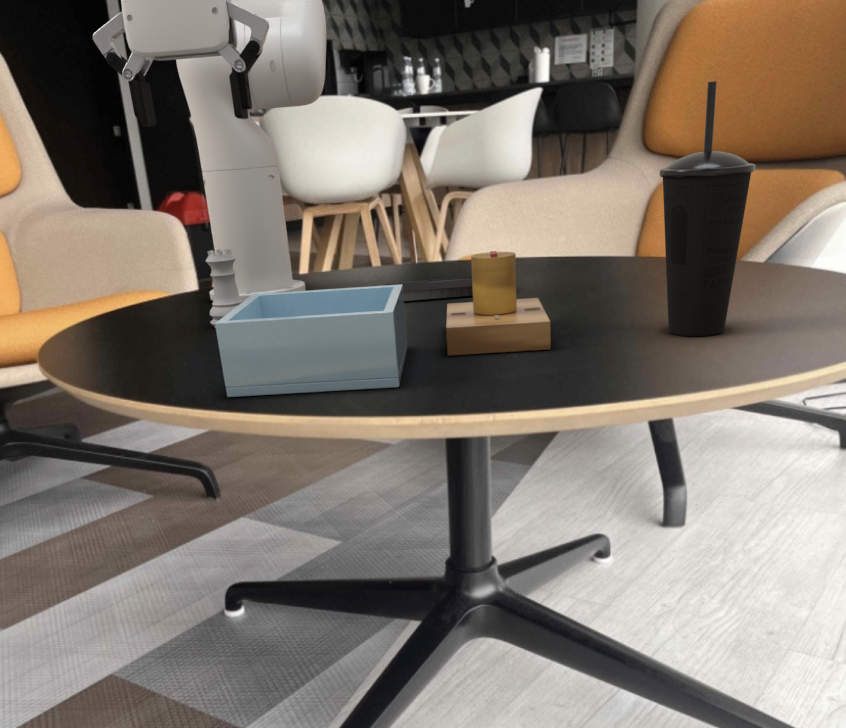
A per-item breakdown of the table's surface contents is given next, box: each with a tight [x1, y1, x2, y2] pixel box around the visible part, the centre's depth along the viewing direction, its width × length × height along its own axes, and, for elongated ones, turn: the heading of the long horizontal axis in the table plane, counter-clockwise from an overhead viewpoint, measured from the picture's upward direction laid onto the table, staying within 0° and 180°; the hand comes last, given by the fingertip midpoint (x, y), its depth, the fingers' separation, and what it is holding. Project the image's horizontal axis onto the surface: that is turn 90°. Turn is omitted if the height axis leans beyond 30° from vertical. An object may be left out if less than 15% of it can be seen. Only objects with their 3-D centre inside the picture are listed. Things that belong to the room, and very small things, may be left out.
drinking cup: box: [659, 80, 756, 337], centre depth 75 cm, size 8×8×20 cm
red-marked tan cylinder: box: [470, 250, 518, 315], centre depth 79 cm, size 4×4×5 cm
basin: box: [214, 284, 408, 398], centre depth 73 cm, size 14×14×6 cm
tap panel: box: [445, 297, 552, 357], centre depth 81 cm, size 12×9×3 cm
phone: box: [382, 276, 473, 302], centre depth 107 cm, size 8×1×15 cm
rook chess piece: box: [205, 249, 243, 329], centre depth 96 cm, size 4×4×8 cm
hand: (195, 122), depth 89 cm, fingers open, 9 cm apart
